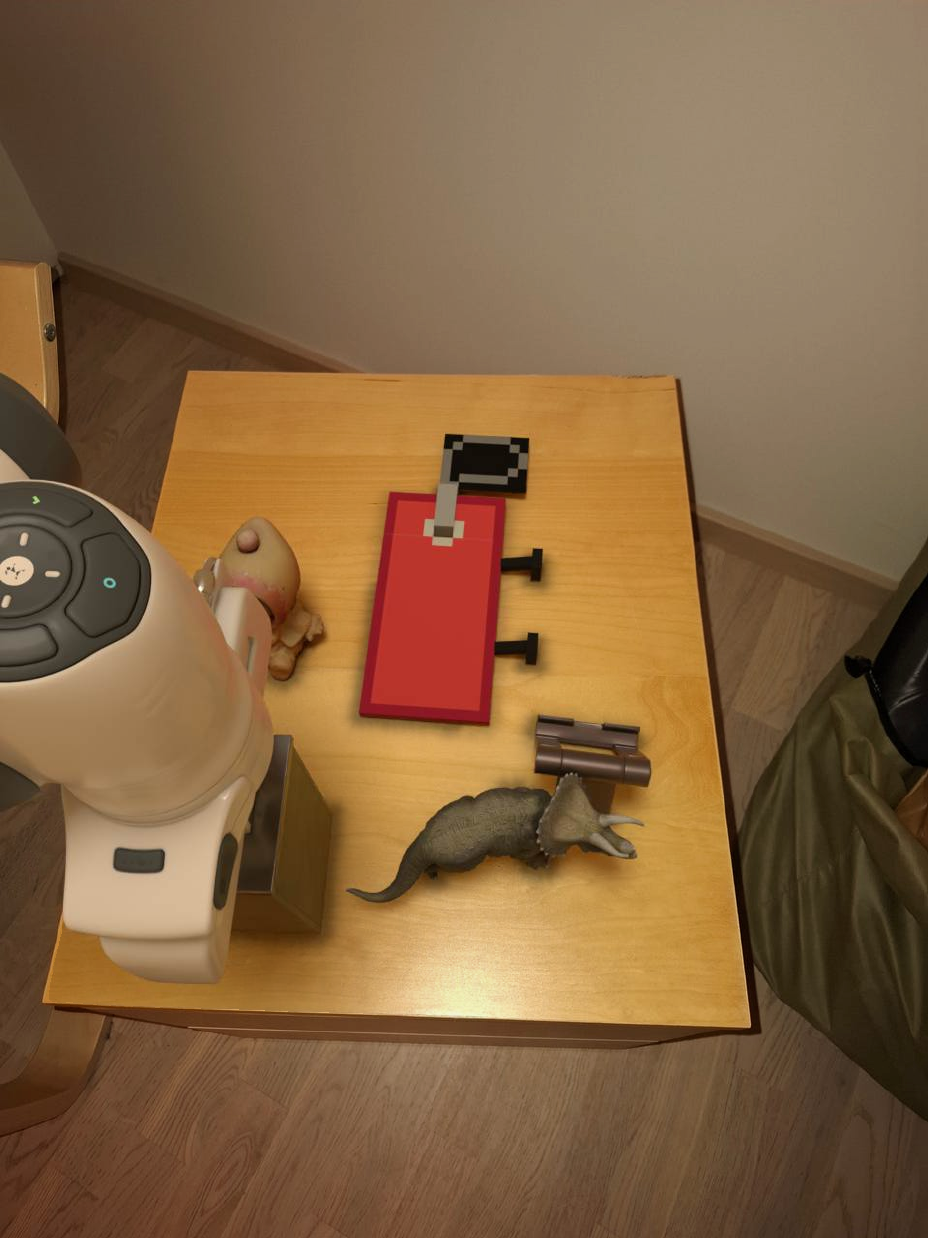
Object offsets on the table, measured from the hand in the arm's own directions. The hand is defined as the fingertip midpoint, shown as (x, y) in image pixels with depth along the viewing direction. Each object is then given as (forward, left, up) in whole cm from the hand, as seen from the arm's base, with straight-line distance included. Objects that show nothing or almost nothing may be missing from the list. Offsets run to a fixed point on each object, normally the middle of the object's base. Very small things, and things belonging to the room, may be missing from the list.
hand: (240, 809), depth 54 cm
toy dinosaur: (+14, -7, -21) cm, 26 cm away
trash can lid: (-2, +1, -1) cm, 3 cm away
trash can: (-2, +2, -21) cm, 21 cm away
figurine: (+9, +20, -21) cm, 30 cm away
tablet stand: (+24, -6, -21) cm, 33 cm away
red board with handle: (+26, +15, -21) cm, 37 cm away
